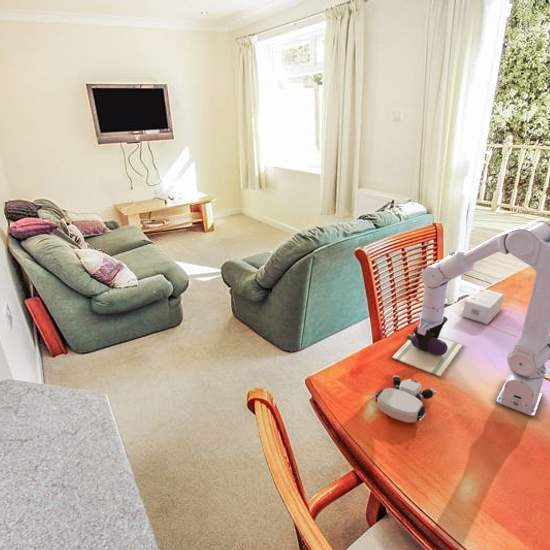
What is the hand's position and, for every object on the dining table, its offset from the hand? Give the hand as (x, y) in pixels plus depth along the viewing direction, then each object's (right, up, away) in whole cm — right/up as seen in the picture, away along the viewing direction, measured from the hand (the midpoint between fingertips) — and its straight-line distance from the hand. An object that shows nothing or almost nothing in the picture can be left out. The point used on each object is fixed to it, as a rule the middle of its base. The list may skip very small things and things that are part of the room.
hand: (428, 344), depth 111 cm
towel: (0, -3, +1) cm, 3 cm away
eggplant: (0, -2, +1) cm, 2 cm away
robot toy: (-14, -12, -18) cm, 25 cm away
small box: (+21, +8, +14) cm, 27 cm away
